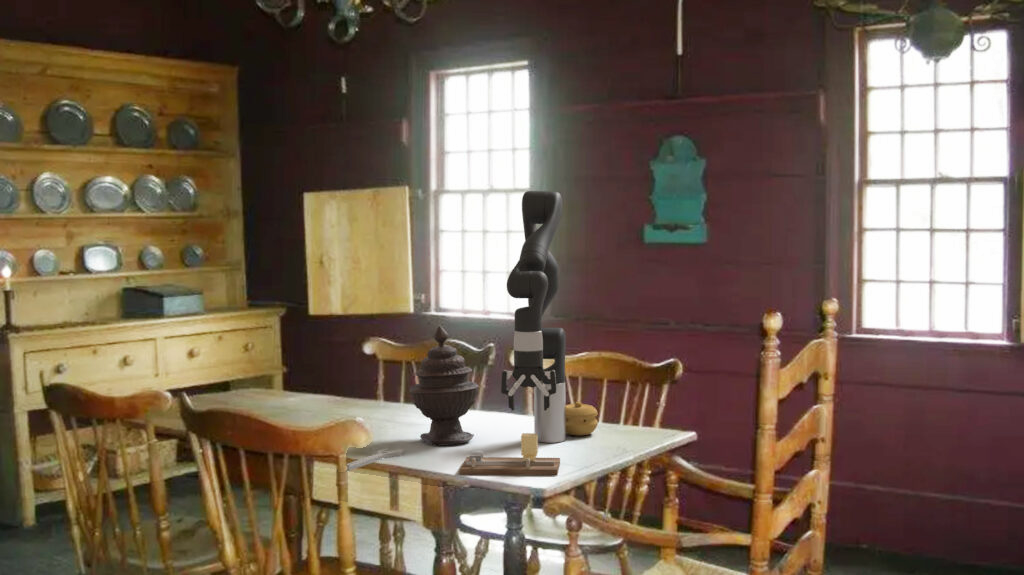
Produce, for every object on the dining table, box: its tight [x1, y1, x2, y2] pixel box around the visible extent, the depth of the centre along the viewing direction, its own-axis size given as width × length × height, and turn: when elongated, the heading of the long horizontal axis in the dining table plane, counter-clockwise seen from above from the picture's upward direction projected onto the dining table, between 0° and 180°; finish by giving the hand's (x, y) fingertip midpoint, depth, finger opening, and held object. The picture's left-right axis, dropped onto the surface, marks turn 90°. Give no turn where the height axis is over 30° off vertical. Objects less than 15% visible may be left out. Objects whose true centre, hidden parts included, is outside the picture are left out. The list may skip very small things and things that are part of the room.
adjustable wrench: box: [346, 447, 404, 472], centre depth 300 cm, size 25×6×2 cm, turn 147°
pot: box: [566, 401, 599, 437], centre depth 333 cm, size 12×12×10 cm
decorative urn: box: [408, 324, 479, 446], centre depth 324 cm, size 20×20×35 cm
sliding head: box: [520, 432, 539, 461], centre depth 288 cm, size 6×4×7 cm, turn 175°
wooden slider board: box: [459, 450, 561, 476], centre depth 288 cm, size 14×25×4 cm, turn 85°
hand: (529, 409), depth 287 cm, fingers open, 8 cm apart
